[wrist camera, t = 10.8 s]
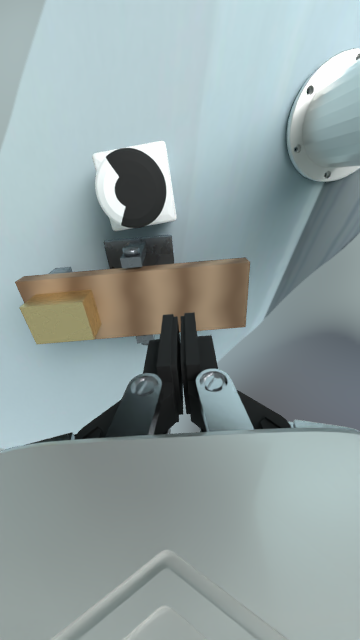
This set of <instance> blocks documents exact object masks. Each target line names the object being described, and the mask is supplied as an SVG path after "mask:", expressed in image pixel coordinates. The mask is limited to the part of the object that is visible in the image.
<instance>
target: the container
mask: <svg viewBox="0 0 360 640" xmlns="http://www.w3.org/2000/svg"><path fill="white" fill-rule="evenodd" d="M92 159H93V162H94V166H95V169H96V178H95V190H96V195H97V199H98V201H99V204H100V206H101V207H102V209H103V211H104V212H105V213H106V214H107V216H108V217H109V219H110V222H111V226H112V229H113V230H114V231H120V230H126V229H132V228H140V227H144V226H149V225H155V224H161V223H166V222H172V221H175V220H176V218H177V216H176V210H175V203H174V196H173V190H172V183H171V176H170V170H169V163H168V156H167V150H166V144H165V142H164V141H157V142H152V143H146V144H141V145H136V146H130V147H125V148H120V149H114V150H109V151H104V152H98V153H94V154H93V156H92Z"/></svg>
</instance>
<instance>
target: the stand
mask: <svg viewBox="0 0 360 640" xmlns="http://www.w3.org/2000/svg"><path fill="white" fill-rule="evenodd" d="M104 245H105V249H106V254H107V258H108V262H109V267H110V269H117V268H122V269H123V268H134V267H142V266H152V265H164V264H174V257H173V245H172V235H163V236H152V237H141V238H129V239H118V240H107V241H104ZM70 272H72V269H71V267H65V268H55V269H54V270H53V271H51V272H50V273H49V274H58V273H70ZM154 338H155V334H153V335H141V336H136V339H137V343H141V344H143V345H148V344H149V340H154Z"/></svg>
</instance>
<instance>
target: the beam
mask: <svg viewBox="0 0 360 640" xmlns="http://www.w3.org/2000/svg"><path fill="white" fill-rule="evenodd" d="M249 271H250V262H249V261H248V260H247V259H246V258H235V259H223V260H211V261H199V262H188V263H176V264H164V265H152V266H142V267H134V268H123V269H122V268H117V269H105V270H93V271H82V272H70V273H58V274H46V275H35V276H24V277H22V278H21V279H19V280H18V281H16V282H15V283H16V285H17V288H18V290H19V292H20V294H21V297H22V299H23V301H24V303H25V302H27V301H28V300H29V299H30V298H31V297H33V296H34V295H35V294H46V293H58V292H69V291H81V290H92V293H93V296H94V300H95V303H96V307H97V310H98V313H99V317H100V320H101V324H102V325H101V327H100V329H99V331H98V333H97V335H96V337H95V339H104V338H116V337H129V336H141V335H153V334H161V326H162V317H163V315H167V314H173V315H174V317H176V316H177V317H178V325H179V332H181V316H184V313H193V312H195V321H196V330H197V331H202V330H214V329H227V328H239V327H245V326H246V312H247V299H248V285H249Z"/></svg>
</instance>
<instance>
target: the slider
mask: <svg viewBox="0 0 360 640" xmlns="http://www.w3.org/2000/svg"><path fill="white" fill-rule="evenodd" d="M19 308H20V310H21V312H22V314H23V316H24V318H25V321H26V323H27V325H28V327H29V329H30V331H31V333H32V335H33V337H34V340H35V342H36V344H46V343H58V342H70V341H81V340H93V339H95V337H96V335H97V333H98V331H99V329H100V327H101V325H102V324H101V320H100V317H99V313H98V310H97V307H96V303H95V300H94V296H93V293H92V290H81V291H69V292H58V293H46V294H35V295H34V296H33V297H31V298H30V299H29V300H28V301H27V302H25V303H24V304H23V305H22V306H21V307H19Z"/></svg>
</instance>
